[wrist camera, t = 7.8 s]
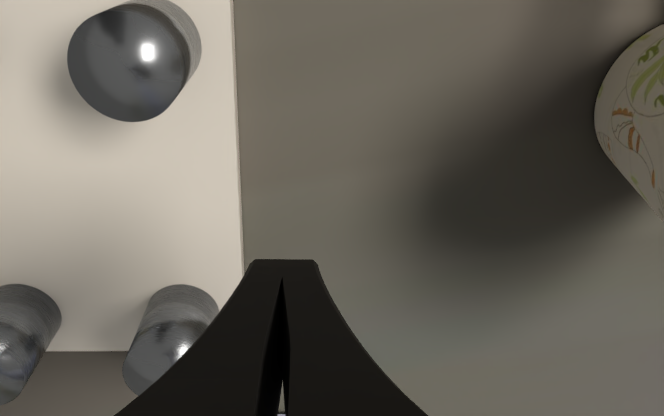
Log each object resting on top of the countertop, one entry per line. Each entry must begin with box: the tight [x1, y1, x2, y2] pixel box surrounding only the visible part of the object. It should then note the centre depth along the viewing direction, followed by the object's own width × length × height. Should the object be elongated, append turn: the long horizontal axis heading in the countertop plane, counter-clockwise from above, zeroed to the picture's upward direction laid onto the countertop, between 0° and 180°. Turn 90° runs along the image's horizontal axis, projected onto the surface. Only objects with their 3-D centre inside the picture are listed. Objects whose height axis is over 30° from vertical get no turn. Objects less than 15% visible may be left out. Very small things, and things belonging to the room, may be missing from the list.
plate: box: [0, 0, 244, 351], centre depth 21 cm, size 15×16×1 cm
